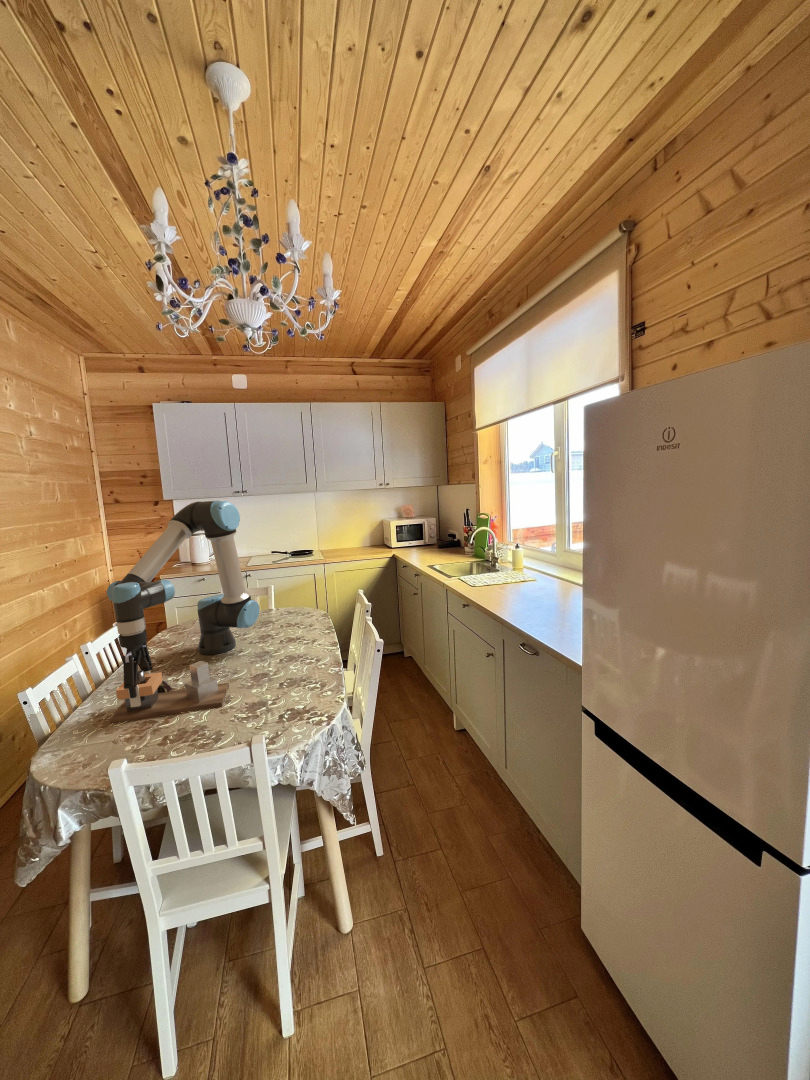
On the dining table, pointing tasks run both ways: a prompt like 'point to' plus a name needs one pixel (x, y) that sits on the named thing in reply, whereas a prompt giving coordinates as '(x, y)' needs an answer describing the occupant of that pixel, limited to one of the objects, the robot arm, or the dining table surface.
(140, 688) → the collar
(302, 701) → the dining table surface
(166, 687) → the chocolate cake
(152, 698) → the stand
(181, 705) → the board
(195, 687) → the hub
